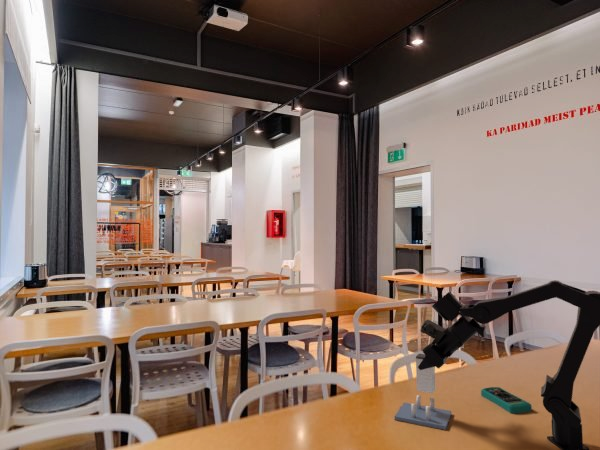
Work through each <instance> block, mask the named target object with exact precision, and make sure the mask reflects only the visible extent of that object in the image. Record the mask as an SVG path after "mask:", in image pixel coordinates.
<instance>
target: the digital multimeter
mask: <svg viewBox="0 0 600 450" xmlns="http://www.w3.org/2000/svg"><path fill="white" fill-rule="evenodd" d="M480 390H481V391H480V396H481V397H483V398H485V400H488V401H490V402H492V403H493V404H495V405H497V406H498V407H501V408H502V409H503V410H505V411H506V412H508V413H510V414H520V413H521V414H522V413H528V412H533V411H532V410H533V409H532V404H531V403H530V402H528V401H526V400H524V399H522V398H520V397H518V396H516V395H515V394H513V393H511V392H509V391H507V390H505V389H503V388H501V387H499V386H498V387H497V386H491V387H485V388H482V389H480Z"/></svg>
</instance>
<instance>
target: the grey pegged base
mask: <svg viewBox="0 0 600 450" xmlns="http://www.w3.org/2000/svg"><path fill="white" fill-rule="evenodd" d="M415 399H416V402H415V403H411V402H410V403H409V402H404V401H403V402H402V404H401V406H400V407H399V408H398V411H397V412H396V414H395V415H394V420H395V421H398V422H404V423H407V424H409V423H410V424H413V425H419V426H423V427H429V428H434V429H437V428H438V429H439V430H442V429H443V431H447V428H448V425H449V423H450V420H451V416H452V410H450V409H449V410H448V409H443V408H437V407H435V405H436V404H435V397H430V398H429V405H422V402H421V401H422V400H421V395H418V394H417V395H416V398H415ZM448 422H449V423H448ZM438 429H437V430H438Z"/></svg>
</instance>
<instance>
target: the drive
mask: <svg viewBox="0 0 600 450" xmlns="http://www.w3.org/2000/svg"><path fill="white" fill-rule="evenodd" d="M425 356H426V355H425V354H424V353H418V354H417V355H416V356H415V369H416V370H415V371H416V372H415V373H416V375H415V376H416V377H415V378H416V391H418V392H423V393H427V394H434V392H435V391H436V369H435V367H431V368H427V369H423V370H420V369H419V368H418V366H419V365H420V363H421V362H422V360H423V359H424V357H425Z"/></svg>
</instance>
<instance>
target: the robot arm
mask: <svg viewBox="0 0 600 450" xmlns="http://www.w3.org/2000/svg"><path fill="white" fill-rule="evenodd" d="M552 299H559V300H562V301H564V302H566V303H568V304H570V305H573V306H574V307H577V314H576V315H577V316H576V323H575V326H574V328H573V330H572V333H571V335H570V338H569V341H568V343H567V346H566V349H565V351H564V353H563V356H562V359H561V361H560V364H559V366H558V370H557V372H556V373H555V374H554V375H553V377H551V376H550V375H548V374H546V377H545V382H544V384H543V386H541V390H540V396H541V397H542V405H543V407H544V408H545V410H546V411H547V412H548V413H550V414H551V434H552V435H549V436H546V439H547V440H548V441H550V442H551V443H552V444H554V445H556V447H558V448H559V449H561V450H590V447H589V446H587V445H585V444H584V442H583V424H582V417H581V416H582V415H581V412H580V411H581V409H580V407H579V405H577V404H576V403H575V402H574V401H573V392H574V391H573V390H574V384H575V381H576V378H577V376H578V373H579V370H580V368H581V365H582V363H583V361H584V358H585V355H586V353H587V351H588V348H589V345H590V343H591V341H592V338H593V336H594V333H595V332H596V331H597V329H598V328H599V327H600V291H597V290H588V291H586V290H583V289H581V288H577V287H575V286H572V285H568V284H565V283H563V282H562V281H559V280H550V281H549V282H547V283H545V284H541V285H538V286H536V287H532V288H529V289H527V290H523V291H521V292H517V293H516V292H515V293H514V294H511V295H507V296H505V297H504V296H503V297H494V298H489V299H487V298H486V299H480V300H479V301H477V302H476V303H471V304H469V303H468V304H464V305H463V304H462V303H461V302H460V301H459V300H458V299H457V298H456V297H455V296H454V294H452V292H451V291H448V292H447V293H446V294H445V295H443V296H442V297H441V298H439V299H438V300H436V302H435V303H433V304H432V305H431V307H432V309H434V311H435V312H436V313H437V314H439V316H440V317H442V319H443V320H444V321H445V322H447V321H448V322H453V324H451V325H450V326H447V327H446V328H444V327H442V326H440V325H439V324H438V323H435V322H434V321H432V320H430V319H426V320H425V321H423V324H422V325H421V327H420V328H421V329H420V332H421V333H422V334H425V335H426V336H428V337H430V338H432V339H433V340H432V342H431V343H428V344H427V345H426V346H425V347H424V348H423V349H422V350H421V351H422V354H425V355H426V356H425V357H424V359H423V360H422V362H421V363H420V365H419V366H418V368H419V369H420V370H423V369H427V368H431V367H436V368H437V369H440V368H442V366H444V365H445V363H446V362H447V360H448V358H450V357H452V356H453V354H454V353H455V352H456V351H457V350H459V349H460V348H462V346H463V345H465V343H467V342H468V341H469V340H470V339H471V338H472V337H474V336H475V335H476V334H478V335H479V336H480V337H481V338H484V337H485V335H486V334H487V332H486V328H487V327H486V324H489V323H491V322H493V321H495V320H497V319H499V318H501V317H502V316H504V315H506V314H508V313H510V312H512V311H516V310H519V309H522V308H525V307H528V306H531V305H532V306H533V305H535V304H538V303H541V302H544V301H548V300H552ZM459 316H460V318H458V319H457V317H459ZM456 319H457V320H456ZM454 320H456V321H455V322H454Z"/></svg>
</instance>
